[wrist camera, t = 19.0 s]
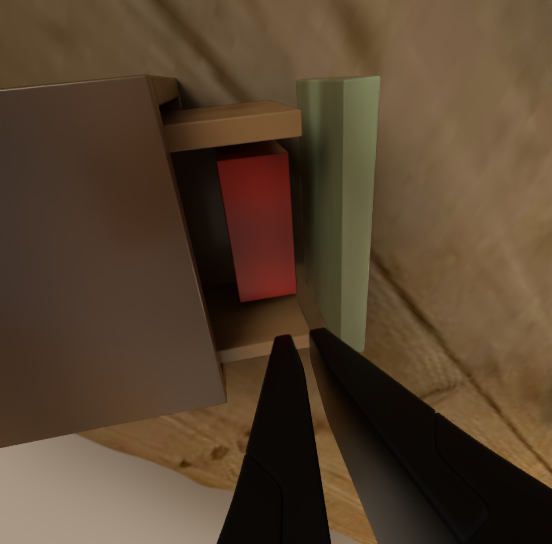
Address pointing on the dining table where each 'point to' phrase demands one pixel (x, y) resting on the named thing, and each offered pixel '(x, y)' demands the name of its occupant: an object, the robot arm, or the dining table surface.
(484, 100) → the dining table surface
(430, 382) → the dining table surface
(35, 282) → the cabinet
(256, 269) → the red rectangular block
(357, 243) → the drawer
